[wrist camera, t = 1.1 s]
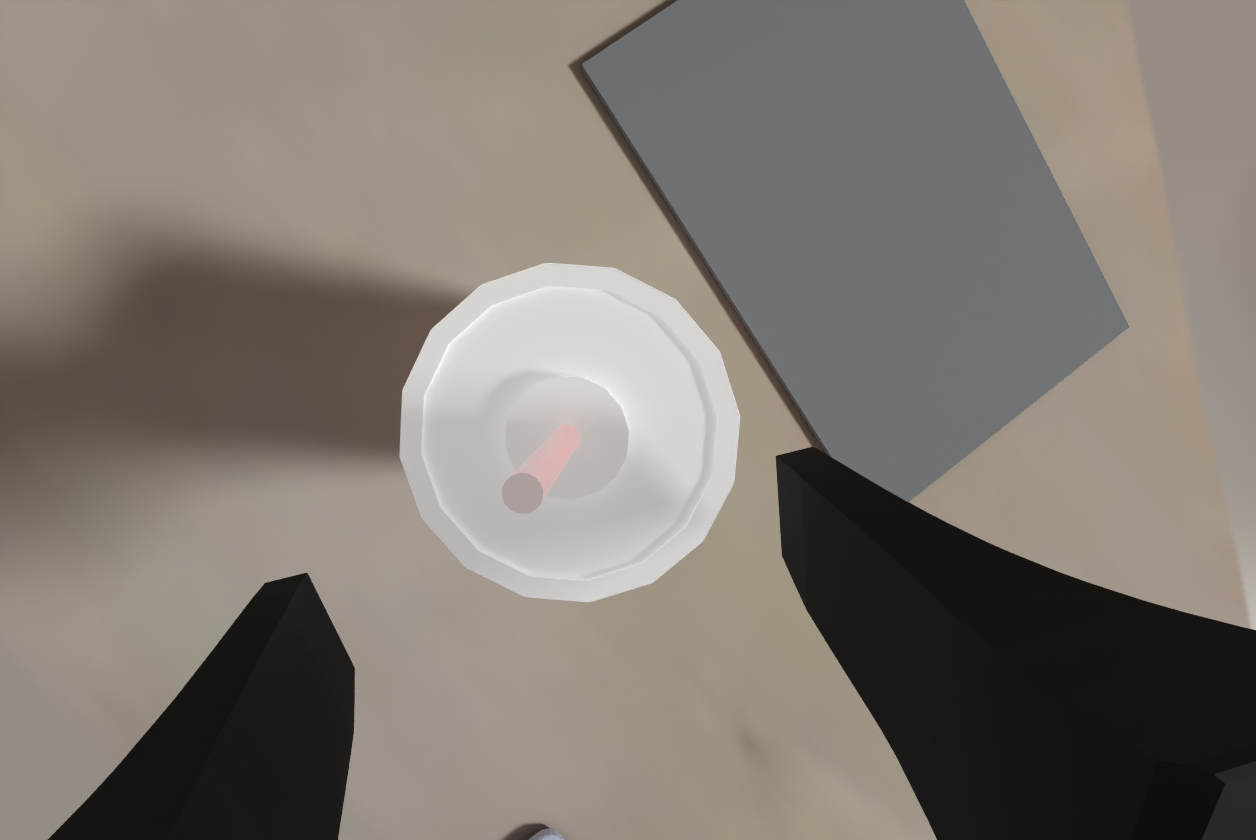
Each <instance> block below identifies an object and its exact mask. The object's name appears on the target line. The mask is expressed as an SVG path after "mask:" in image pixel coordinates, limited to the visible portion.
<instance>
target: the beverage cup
mask: <svg viewBox="0 0 1256 840" xmlns="http://www.w3.org/2000/svg"><path fill="white" fill-rule="evenodd" d="M739 424H740V414H739V411H738V407H737V404H736V401H735V398H734V395H733V392H732V388H731V385H730V382H729V379H728V376H727V373H726V369H725V366H724V363H723V360H722V357H721V354H720V351H719V350H718V349H717V348H716V346H715V345H714V344H713V343H712V342H711V340H710V339H709V338H708V337H707V336H706V335H705V333H704V332H703V331H702V330H701V329H700V327H699V326H698V325H697V324H696V323H695V322H694V320H693V319H692V318H691V317H690V316H689V314H688V313H687V312H686V311H685V310H684V309H683V307H682V306H681V305H680V304H679V303H678V301H677V300H676V299H674V298H672V297H670V296H668V295H666V294H664V293H662V292H661V291H659V290H657V289H655V288H653V287H651V286H649V285H647V284H645V283H643V282H641V281H639V280H637V279H635V278H633V277H631V276H629V275H627V274H625V273H623V272H621V271H619V270H617V269H616V268H609V267H596V266H582V265H569V264H555V263H544V264H541V265H538V266H535V267H532V268H529V269H526V270H523V271H520V272H517V273H514V274H511V275H508V276H505V277H502V278H499V279H496V280H493V281H490V282H487V283H485V284H482V285H480V286H479V287H478V288H477V289H476V290H475V291H473V292H472V293H471V294H470V295H469V296H468V297H467V298H466V299H465V300H463V301H462V302H461V303H460V304H459V305H458V306H457V307H456V308H454V309H453V310H452V311H451V312H450V313H449V314H448V315H447V316H445V317H444V318H443V319H442V320H441V321H440V322H439V323H438V324H437V325H435V326H434V327H433V328H432V329H431V330H430V332H429V335H428V337H427V339H426V341H425V343H424V345H423V347H422V349H421V352H420V354H419V356H418V358H417V360H416V362H415V364H414V366H413V368H412V371H411V373H410V375H409V377H408V379H407V381H406V383H405V385H404V388H403V390H402V409H401V432H400V455H399V457H400V459H401V462H402V465H403V468H404V470H405V473H406V476H407V479H408V481H409V484H410V487H411V490H412V493H413V495H414V498H415V501H416V504H417V506H418V509H419V512H420V515H421V517H422V519H423V520H424V521H425V523H426V524H427V525H428V526H429V527H430V528H431V529H432V530H433V532H434V533H435V534H436V535H437V536H438V537H439V538H440V539H441V540H442V542H443V543H444V544H445V545H446V546H447V547H448V548H449V549H450V551H451V552H452V553H453V554H454V555H455V556H456V557H457V558H458V559H459V561H460V562H461V563H462V564H463V565H464V566H465V567H466V568H467V569H469V570H472V571H474V572H476V573H478V574H480V575H482V576H484V577H486V578H488V579H490V580H492V581H494V582H496V583H498V584H500V585H502V586H504V587H506V588H508V589H510V590H512V591H514V592H516V593H518V594H520V595H522V596H524V597H531V598H544V599H556V600H568V601H580V602H593V601H596V600H599V599H602V598H605V597H609V596H612V595H615V594H618V593H622V592H625V591H628V590H631V589H634V588H638V587H641V586H644V585H647V584H651V583H653V582H654V581H655V580H657V579H658V578H659V577H660V576H662V575H663V574H664V573H665V572H666V571H668V570H669V569H670V568H671V567H672V566H674V565H675V564H676V563H677V562H678V561H680V560H681V559H682V558H683V557H685V556H686V555H687V554H688V553H689V552H691V551H692V550H693V549H694V548H695V547H697V546H698V545H699V544H700V543H702V542H703V541H704V539H705V537H706V535H707V533H708V531H709V529H710V527H711V525H712V524H713V522H714V520H715V518H716V516H717V514H718V512H719V510H720V508H721V507H722V505H723V503H724V501H725V499H726V497H727V495H728V493H729V492H730V490H731V488H732V486H733V484H734V479H735V468H736V457H737V446H738V435H739Z"/></svg>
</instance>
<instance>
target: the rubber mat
mask: <svg viewBox="0 0 1256 840" xmlns="http://www.w3.org/2000/svg"><path fill="white" fill-rule="evenodd" d="M580 68H581V70H582V72H583V73H584V75H585V76H586V78H587V79H588V81H589V83H590V84H591V86H592V87H593V89H594V90H595V92H596V94H597V95H598V97H599V98H600V100H601V101H602V103H603V105H604V106H605V108H606V109H607V111H608V112H609V114H610V116H611V117H612V119H613V120H614V122H615V123H616V125H617V127H618V128H619V130H620V131H621V133H622V134H623V136H624V137H625V139H626V141H627V142H628V144H629V145H630V147H631V148H632V150H633V152H634V153H635V155H636V156H637V158H638V159H639V161H640V163H641V164H642V166H643V167H644V169H645V170H646V172H647V174H648V175H649V177H650V178H651V180H652V181H653V183H654V185H655V186H656V188H657V189H658V191H659V192H660V194H661V196H662V197H663V199H664V200H665V202H666V203H667V205H668V207H669V208H670V210H671V211H672V213H673V214H674V216H675V217H676V219H677V221H678V222H679V224H680V225H681V227H682V228H683V230H684V232H685V233H686V235H687V236H688V238H689V239H690V241H691V243H692V244H693V246H694V247H695V249H696V250H697V252H698V254H699V255H700V257H701V258H702V260H703V261H704V263H705V265H706V266H707V268H708V269H709V271H710V272H711V274H712V276H713V277H714V279H715V280H716V282H717V283H718V285H719V287H720V288H721V290H722V291H723V293H724V294H725V296H726V297H727V299H728V301H729V302H730V304H731V305H732V307H733V308H734V310H735V312H736V313H737V315H738V316H739V318H740V319H741V321H742V323H743V324H744V326H745V327H746V329H747V330H748V332H749V334H750V335H751V337H752V338H753V340H754V341H755V343H756V345H757V346H758V348H759V349H760V351H761V352H762V354H763V356H764V357H765V359H766V360H767V362H768V363H769V365H770V367H771V368H772V370H773V371H774V373H775V374H776V376H777V377H778V379H779V381H780V382H781V384H782V385H783V387H784V388H785V390H786V392H787V393H788V395H789V396H790V398H791V399H792V401H793V403H794V404H795V406H796V407H797V409H798V410H799V412H800V414H801V415H802V417H803V418H804V420H805V421H806V423H807V425H808V426H809V428H810V429H811V431H812V432H813V434H814V436H815V437H816V439H817V440H818V442H819V443H820V445H821V447H822V448H823V450H824V451H825V453H826V454H827V455H829V456H830V457H832V458H834V459H835V460H837V461H839V462H840V463H842V464H844V465H845V466H847V467H849V468H850V469H852V470H854V471H855V472H857V473H859V474H860V475H862V476H864V477H865V478H867V479H869V480H870V481H872V482H874V483H876V484H877V485H879V486H881V487H882V488H884V489H886V490H888V491H889V492H891V493H893V494H895V495H896V496H898V497H900V498H902V499H903V500H905V501H907V502H909V501H910V500H912V499H913V498H914V497H915V496H917V495H918V494H919V493H921V492H922V491H923V490H924V489H926V488H927V487H928V486H929V485H931V484H932V483H933V482H934V481H936V480H937V479H938V478H939V477H941V476H942V475H943V474H944V473H946V472H947V471H948V470H950V469H951V468H952V467H953V466H955V465H956V464H957V463H958V462H960V461H961V460H962V459H963V458H965V457H966V456H967V455H968V454H970V453H971V452H972V451H973V450H975V449H976V448H977V447H979V446H980V445H981V444H982V443H984V442H985V441H986V440H987V439H989V438H990V437H991V436H992V435H994V434H995V433H996V432H997V431H999V430H1000V429H1001V428H1002V427H1004V426H1005V425H1006V424H1008V423H1009V422H1010V421H1011V420H1013V419H1014V418H1015V417H1016V416H1018V415H1019V414H1020V413H1021V412H1023V411H1024V410H1025V409H1026V408H1028V407H1029V406H1030V405H1031V404H1033V403H1034V402H1035V401H1037V400H1038V399H1039V398H1040V397H1042V396H1043V395H1044V394H1045V393H1047V392H1048V391H1049V390H1050V389H1052V388H1053V387H1054V386H1055V385H1057V384H1058V383H1059V382H1060V381H1062V380H1063V379H1064V378H1066V377H1067V376H1068V375H1069V374H1071V373H1072V372H1073V371H1074V370H1076V369H1077V368H1078V367H1079V366H1081V365H1082V364H1083V363H1084V362H1086V361H1087V360H1088V359H1089V358H1091V357H1092V356H1093V355H1095V354H1096V353H1097V352H1098V351H1100V350H1101V349H1102V348H1103V347H1105V346H1106V345H1107V344H1108V343H1110V342H1111V341H1112V340H1113V339H1115V338H1116V337H1117V336H1118V335H1120V334H1121V333H1122V332H1123V331H1125V330H1126V329H1127V328H1129V325H1128V323H1127V321H1126V320H1125V318H1124V316H1123V314H1122V312H1121V310H1120V308H1119V306H1118V304H1117V302H1116V300H1115V298H1114V296H1113V294H1112V292H1111V290H1110V288H1109V286H1108V284H1107V282H1106V280H1105V278H1104V276H1103V274H1102V272H1101V270H1100V268H1099V266H1098V264H1097V262H1096V260H1095V258H1094V256H1093V254H1092V252H1091V250H1090V248H1089V247H1088V245H1087V243H1086V241H1085V239H1084V237H1083V235H1082V233H1081V231H1080V229H1079V227H1078V225H1077V223H1076V221H1075V219H1074V217H1073V215H1072V213H1071V211H1070V209H1069V207H1068V205H1067V203H1066V201H1065V199H1064V197H1063V195H1062V193H1061V191H1060V189H1059V187H1058V185H1057V183H1056V181H1055V179H1054V177H1053V175H1052V173H1051V172H1050V170H1049V168H1048V166H1047V164H1046V162H1045V160H1044V158H1043V156H1042V154H1041V152H1040V150H1039V148H1038V146H1037V144H1036V142H1035V140H1034V138H1033V136H1032V134H1031V132H1030V130H1029V128H1028V126H1027V124H1026V122H1025V120H1024V118H1023V116H1022V114H1021V112H1020V110H1019V108H1018V106H1017V104H1016V102H1015V100H1014V98H1013V97H1012V95H1011V93H1010V91H1009V89H1008V87H1007V85H1006V83H1005V81H1004V79H1003V77H1002V75H1001V73H1000V71H999V69H998V67H997V65H996V63H995V61H994V59H993V57H992V55H991V53H990V51H989V49H988V47H987V45H986V43H985V41H984V39H983V37H982V35H981V33H980V31H979V29H978V27H977V25H976V23H975V22H974V20H973V18H972V16H971V14H970V12H969V10H968V8H967V6H966V4H965V2H964V0H677V1H676V2H674V3H673V4H671V5H670V6H668V7H667V8H665V9H664V10H662V11H661V12H659V13H658V14H656V15H655V16H653V17H652V18H650V19H649V20H647V21H646V22H644V23H643V24H641V25H640V26H638V27H637V28H635V29H634V30H632V31H631V32H629V33H628V34H626V35H625V36H623V37H622V38H620V39H619V40H617V41H616V42H614V43H613V44H611V45H610V46H608V47H607V48H605V49H604V50H602V51H601V52H599V53H598V54H596V55H595V56H593V57H592V58H590V59H589V60H587V61H586V62H584V63H583V64H582V65H581V67H580Z"/></svg>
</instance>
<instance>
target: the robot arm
mask: <svg viewBox="0 0 1256 840" xmlns="http://www.w3.org/2000/svg"><path fill="white" fill-rule="evenodd" d="M776 467H777V483H778V499H779V515H780V531H781V547H782V557H783V559H784V561H785V564H786V566H787V568H788V570H789V573H790V575H791V577H792V579H793V582H794V584H795V586H796V588H797V590H798V592H799V594H800V597H801V599H802V601H803V603H804V605H805V607H806V609H807V611H808V613H809V614H810V616H811V618H812V619H813V621H814V623H815V624H816V626H817V628H818V629H819V631H820V632H821V634H822V636H823V637H824V639H825V641H826V642H827V644H828V645H829V647H830V649H831V650H832V652H833V654H834V655H835V657H836V658H837V660H838V662H839V663H840V665H841V666H842V668H843V669H844V671H845V673H846V674H847V676H848V677H849V679H850V681H851V682H852V684H853V685H854V687H855V689H856V690H857V692H858V693H859V695H860V697H861V698H862V700H863V701H864V703H865V705H866V706H867V708H868V709H869V711H870V713H871V714H872V716H873V717H874V719H875V721H876V722H877V724H878V725H879V727H880V729H881V730H882V732H883V734H884V736H885V737H886V739H887V741H888V743H889V744H890V746H891V748H892V750H893V751H894V753H895V755H896V757H897V759H898V761H899V763H900V765H901V767H902V769H903V771H904V773H905V775H906V777H907V779H908V781H909V783H910V785H911V787H912V789H913V791H914V793H915V795H916V797H917V799H918V801H919V803H920V805H921V807H922V809H923V811H924V813H925V815H926V817H927V819H928V821H929V823H930V825H931V828H932V830H933V832H934V834H935V836H936V838H937V840H1256V630H1252V629H1248V628H1244V627H1240V626H1236V625H1232V624H1228V623H1224V622H1220V621H1216V620H1212V619H1208V618H1204V617H1200V616H1197V615H1193V614H1189V613H1185V612H1181V611H1178V610H1174V609H1171V608H1167V607H1164V606H1160V605H1157V604H1153V603H1150V602H1146V601H1143V600H1140V599H1137V598H1134V597H1131V596H1128V595H1125V594H1121V593H1118V592H1115V591H1112V590H1109V589H1106V588H1103V587H1100V586H1097V585H1094V584H1091V583H1088V582H1085V581H1082V580H1079V579H1077V578H1074V577H1071V576H1068V575H1065V574H1063V573H1060V572H1057V571H1055V570H1052V569H1050V568H1047V567H1045V566H1042V565H1040V564H1038V563H1035V562H1033V561H1030V560H1028V559H1025V558H1023V557H1020V556H1018V555H1015V554H1013V553H1010V552H1008V551H1006V550H1003V549H1001V548H999V547H997V546H994V545H992V544H990V543H988V542H986V541H983V540H981V539H979V538H977V537H975V536H973V535H971V534H969V533H967V532H965V531H963V530H961V529H959V528H957V527H955V526H953V525H950V524H948V523H946V522H944V521H943V520H941V519H939V518H937V517H935V516H933V515H931V514H929V513H927V512H925V511H923V510H922V509H920V508H918V507H916V506H914V505H912V504H911V503H909V502H907V501H905V500H903V499H902V498H900V497H898V496H896V495H895V494H893V493H891V492H889V491H888V490H886V489H884V488H882V487H881V486H879V485H877V484H876V483H874V482H872V481H870V480H869V479H867V478H865V477H864V476H862V475H860V474H859V473H857V472H855V471H854V470H852V469H850V468H849V467H847V466H845V465H844V464H842V463H840V462H839V461H837V460H835V459H834V458H832V457H830V456H829V455H827V454H825V453H823V452H822V451H820V450H818V449H816V448H815V447H810V448H806V449H802V450H798V451H794V452H790V453H786V454H782V455H778V456H776ZM354 701H355V668H354V666H353V664H352V662H351V660H350V658H349V656H348V654H347V652H346V650H345V648H344V646H343V644H342V642H341V640H340V638H339V636H338V633H337V631H336V629H335V627H334V625H333V623H332V621H331V619H330V617H329V615H328V613H327V611H326V609H325V607H324V605H323V603H322V601H321V599H320V597H319V595H318V593H317V591H316V589H315V587H314V585H313V583H312V581H311V579H310V577H309V575H308V573H304V574H300V575H296V576H292V577H288V578H284V579H279V580H275V581H271V582H267V583H265V584H264V585H263V586H262V587H261V589H260V590H259V591H258V592H257V593H256V595H255V596H254V597H253V598H252V600H251V601H250V602H249V603H248V605H247V606H246V607H245V609H244V610H243V611H242V613H241V614H240V615H239V616H238V618H237V619H236V620H235V622H234V623H233V624H232V626H231V627H230V628H229V630H228V631H227V632H226V633H225V635H224V636H223V637H222V639H221V640H220V641H219V643H218V644H217V645H216V647H215V648H214V649H213V651H212V652H211V653H210V654H209V656H208V657H207V658H206V659H205V661H204V662H203V663H202V665H201V666H200V667H199V668H198V670H197V671H196V672H195V674H194V675H193V676H192V677H191V679H190V680H189V681H188V682H187V684H186V685H185V686H184V688H183V689H182V690H181V691H180V693H179V694H178V695H177V697H176V698H175V699H174V700H173V701H172V703H171V704H170V705H169V706H168V707H167V709H166V710H165V711H164V712H163V713H162V714H161V716H160V717H159V718H158V719H157V720H156V722H155V723H154V724H153V725H152V726H151V727H150V729H149V730H148V731H147V732H146V733H145V735H144V736H143V737H142V738H141V739H140V740H139V742H138V743H137V744H136V745H135V746H134V747H133V749H132V750H131V751H130V752H129V753H128V755H127V756H126V757H125V758H124V759H123V760H122V762H121V763H120V764H119V765H118V766H117V767H116V769H115V770H114V771H113V772H112V773H111V774H110V775H109V777H107V779H106V780H105V781H104V782H103V783H102V784H101V785H100V786H99V787H98V788H97V790H96V791H94V793H93V794H92V795H91V796H90V797H89V798H88V799H87V800H86V801H85V802H84V803H83V804H82V805H81V806H80V807H79V808H78V809H77V810H76V812H74V813H73V814H72V816H71V817H70V818H69V819H68V820H67V821H66V822H65V823H64V824H63V825H62V826H61V827H60V828H59V829H58V830H57V831H56V832H55V833H54V834H53V835H52V836H51V837H50V838H49V839H48V840H338V835H339V828H340V822H341V815H342V809H343V802H344V796H345V789H346V783H347V776H348V769H349V762H350V755H351V748H352V741H353V733H354ZM529 840H565V839H564V838H563V837H562V836H561V834H560V833H559V832H557V831H556V830H554V829H543V830H541V831H539V832H537V833H536V834H535V835H534V836H532V837H531V838H530V839H529Z"/></svg>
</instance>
